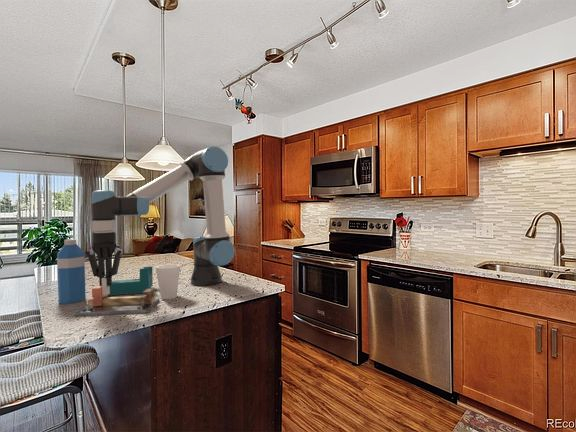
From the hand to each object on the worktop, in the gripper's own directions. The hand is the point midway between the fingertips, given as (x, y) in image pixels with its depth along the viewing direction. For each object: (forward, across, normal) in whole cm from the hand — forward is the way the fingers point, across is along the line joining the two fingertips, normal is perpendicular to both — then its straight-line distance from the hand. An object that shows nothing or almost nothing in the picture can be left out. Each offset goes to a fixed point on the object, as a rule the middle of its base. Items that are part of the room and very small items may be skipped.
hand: (106, 294), depth 117 cm
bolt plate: (+5, -6, +1) cm, 8 cm away
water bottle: (+5, +20, -13) cm, 24 cm away
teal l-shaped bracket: (+5, +1, -24) cm, 24 cm away
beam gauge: (+4, -5, +2) cm, 7 cm away
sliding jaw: (+4, +2, +2) cm, 5 cm away
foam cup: (+5, -20, -12) cm, 23 cm away
